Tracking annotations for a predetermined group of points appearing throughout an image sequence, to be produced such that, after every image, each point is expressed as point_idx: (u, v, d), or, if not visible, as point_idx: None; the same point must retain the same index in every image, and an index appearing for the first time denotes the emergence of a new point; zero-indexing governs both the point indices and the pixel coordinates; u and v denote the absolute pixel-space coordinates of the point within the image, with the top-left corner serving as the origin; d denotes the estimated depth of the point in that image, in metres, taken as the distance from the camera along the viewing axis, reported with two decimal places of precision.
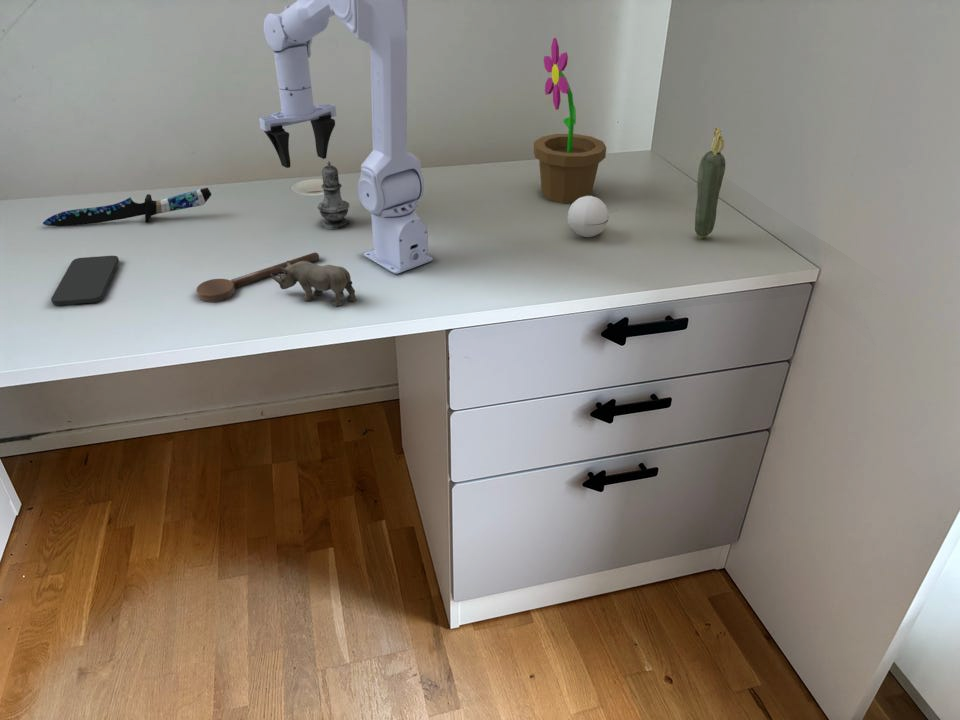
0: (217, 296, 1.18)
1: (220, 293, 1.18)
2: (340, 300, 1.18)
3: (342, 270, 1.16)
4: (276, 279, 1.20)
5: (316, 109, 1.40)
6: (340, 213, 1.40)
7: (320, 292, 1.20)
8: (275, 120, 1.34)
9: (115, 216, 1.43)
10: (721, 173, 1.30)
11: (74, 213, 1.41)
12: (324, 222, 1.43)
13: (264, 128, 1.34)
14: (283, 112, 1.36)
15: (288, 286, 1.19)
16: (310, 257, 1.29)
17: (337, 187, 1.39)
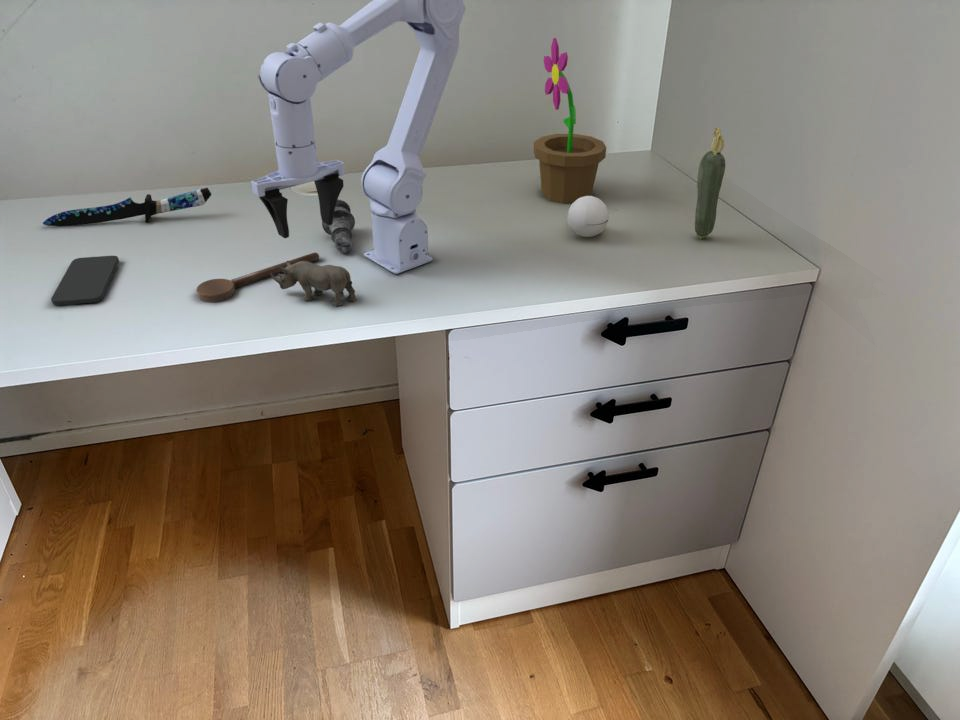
0: (217, 296, 1.18)
1: (220, 293, 1.18)
2: (340, 300, 1.18)
3: (342, 270, 1.16)
4: (276, 279, 1.20)
5: (321, 167, 1.15)
6: None
7: (320, 292, 1.20)
8: (270, 183, 1.10)
9: (115, 216, 1.43)
10: (721, 173, 1.30)
11: (74, 213, 1.41)
12: None
13: (257, 193, 1.10)
14: (280, 173, 1.12)
15: (288, 286, 1.19)
16: (310, 257, 1.29)
17: None
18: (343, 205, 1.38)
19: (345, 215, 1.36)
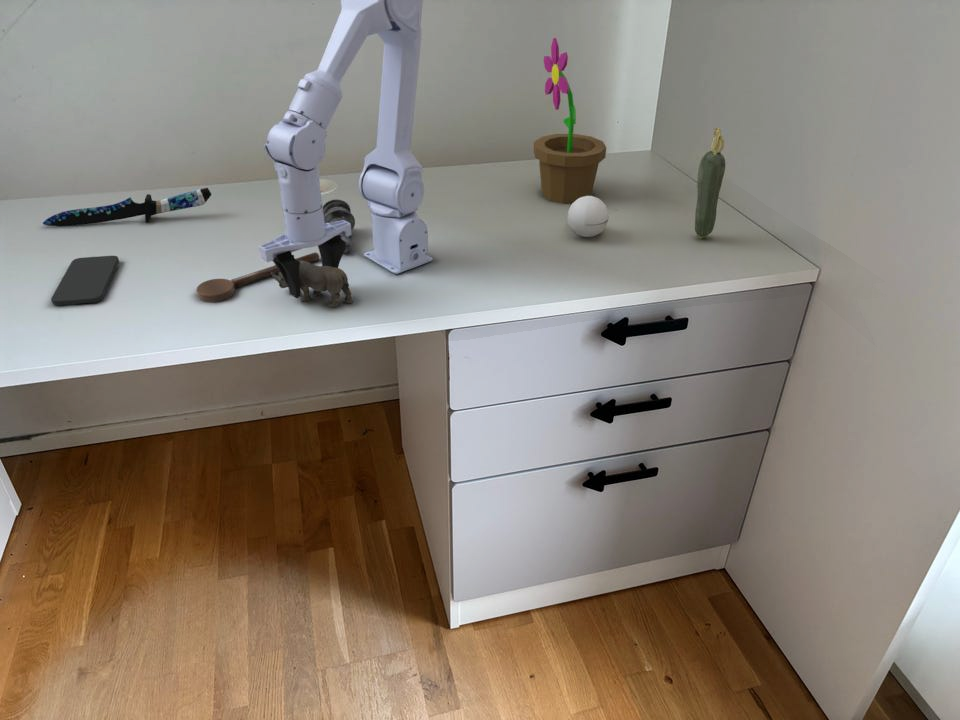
0: (217, 296, 1.18)
1: (220, 293, 1.18)
2: (336, 302, 1.17)
3: (339, 272, 1.15)
4: (275, 278, 1.20)
5: (328, 229, 1.16)
6: None
7: (318, 293, 1.20)
8: (279, 249, 1.11)
9: (115, 216, 1.43)
10: (721, 173, 1.30)
11: (74, 213, 1.41)
12: (325, 214, 1.38)
13: (265, 258, 1.11)
14: (288, 237, 1.13)
15: None
16: (310, 257, 1.29)
17: None
18: (343, 205, 1.38)
19: (345, 215, 1.36)
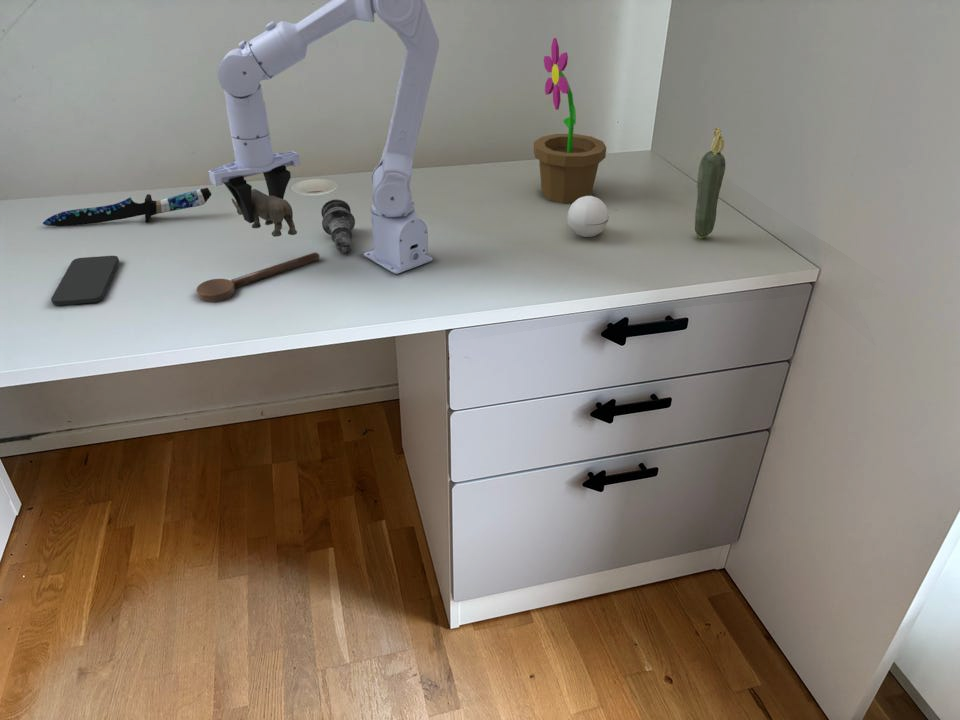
0: (217, 296, 1.18)
1: (220, 293, 1.18)
2: (278, 231, 1.22)
3: (281, 202, 1.20)
4: (234, 204, 1.27)
5: (276, 158, 1.22)
6: None
7: (269, 222, 1.25)
8: (227, 173, 1.16)
9: (115, 216, 1.43)
10: (721, 173, 1.30)
11: (74, 213, 1.41)
12: (325, 214, 1.38)
13: (214, 182, 1.16)
14: (237, 163, 1.18)
15: None
16: (310, 257, 1.29)
17: None
18: (343, 205, 1.38)
19: (345, 215, 1.36)
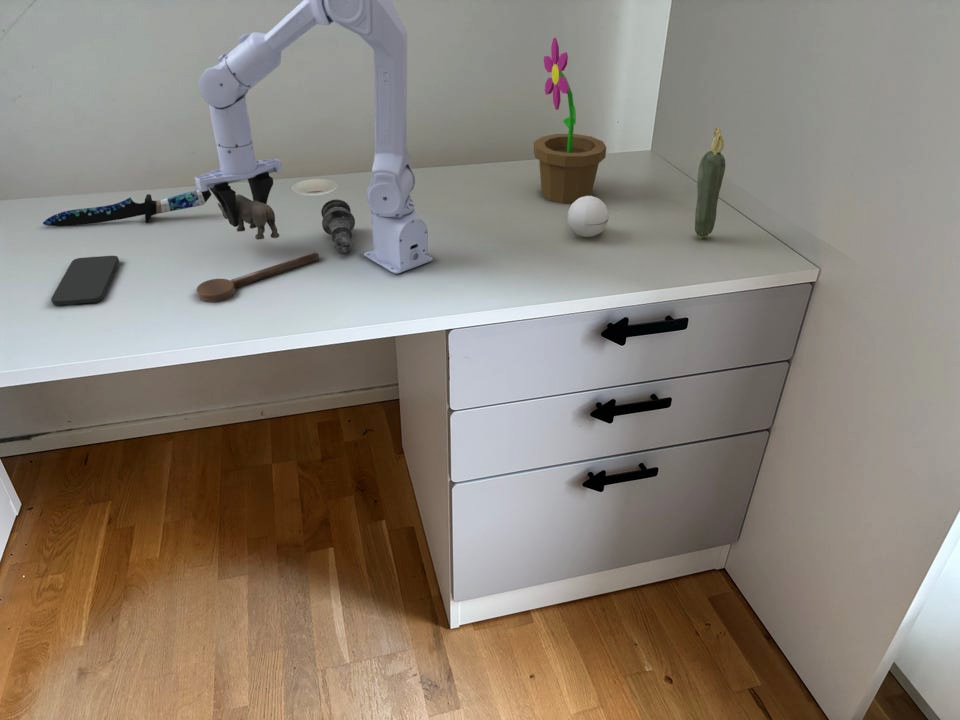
0: (217, 296, 1.18)
1: (220, 293, 1.18)
2: (261, 235, 1.28)
3: (264, 207, 1.26)
4: (220, 208, 1.33)
5: (259, 165, 1.28)
6: None
7: (253, 226, 1.32)
8: (212, 180, 1.23)
9: (115, 216, 1.43)
10: (721, 173, 1.30)
11: (74, 213, 1.41)
12: (325, 214, 1.38)
13: (200, 188, 1.23)
14: (222, 170, 1.25)
15: None
16: (310, 257, 1.29)
17: None
18: (343, 205, 1.38)
19: (345, 215, 1.36)
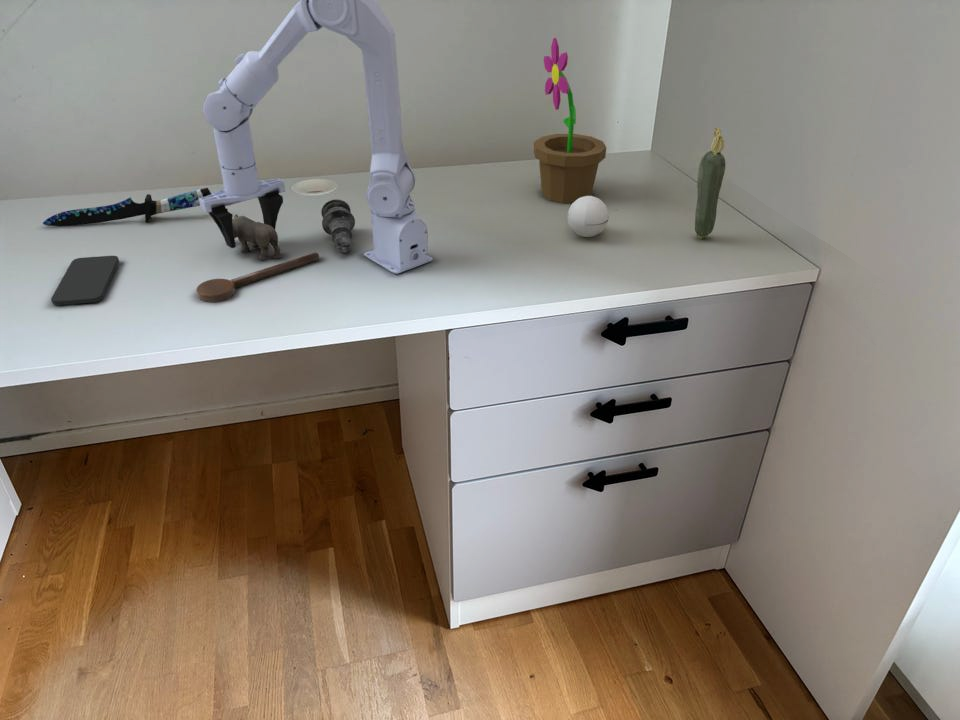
0: (217, 296, 1.18)
1: (220, 293, 1.18)
2: (264, 255, 1.30)
3: (266, 228, 1.28)
4: None
5: (262, 185, 1.30)
6: None
7: (257, 246, 1.34)
8: (216, 201, 1.25)
9: (115, 216, 1.43)
10: (721, 173, 1.30)
11: (74, 213, 1.41)
12: (325, 214, 1.38)
13: (204, 209, 1.25)
14: (226, 191, 1.27)
15: None
16: (310, 257, 1.29)
17: None
18: (343, 205, 1.38)
19: (345, 215, 1.36)
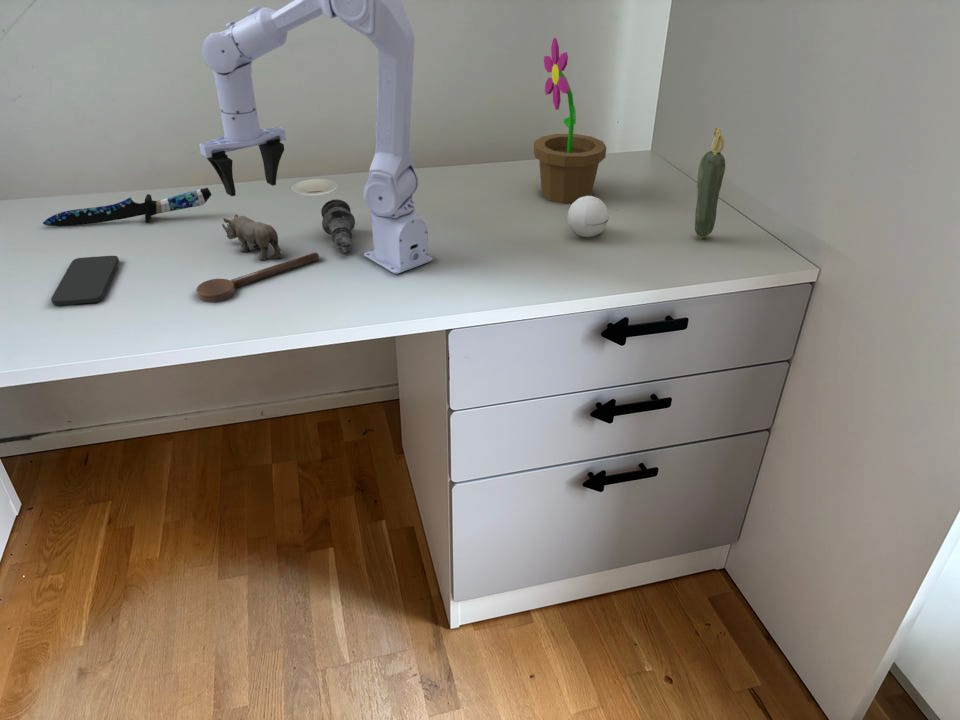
0: (217, 296, 1.18)
1: (220, 293, 1.18)
2: (264, 255, 1.30)
3: (266, 228, 1.28)
4: (225, 229, 1.35)
5: (263, 133, 1.30)
6: None
7: (257, 246, 1.34)
8: (216, 146, 1.24)
9: (115, 216, 1.43)
10: (721, 173, 1.30)
11: (74, 213, 1.41)
12: (325, 214, 1.38)
13: (205, 155, 1.24)
14: (226, 137, 1.26)
15: (232, 236, 1.35)
16: (310, 257, 1.29)
17: None
18: (343, 205, 1.38)
19: (345, 215, 1.36)
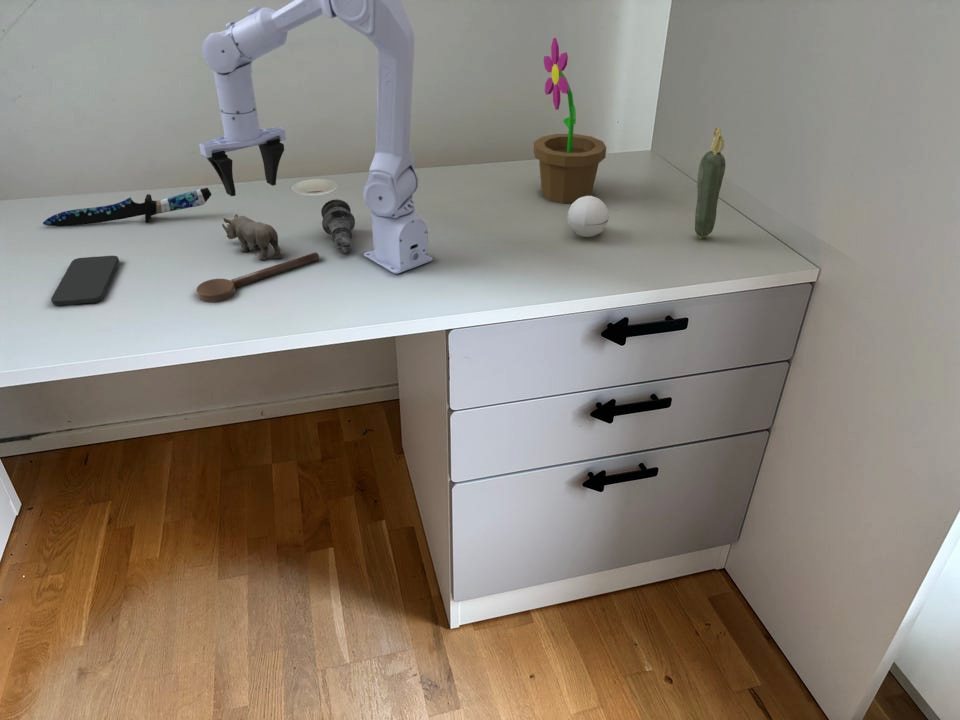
0: (217, 296, 1.18)
1: (220, 293, 1.18)
2: (264, 255, 1.30)
3: (266, 228, 1.28)
4: (225, 229, 1.35)
5: (263, 133, 1.30)
6: None
7: (257, 246, 1.34)
8: (216, 146, 1.24)
9: (115, 216, 1.43)
10: (721, 173, 1.30)
11: (74, 213, 1.41)
12: (325, 214, 1.38)
13: (205, 155, 1.24)
14: (226, 137, 1.26)
15: (232, 236, 1.35)
16: (310, 257, 1.29)
17: None
18: (343, 205, 1.38)
19: (345, 215, 1.36)
